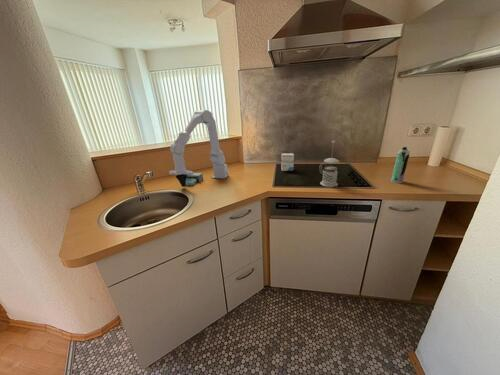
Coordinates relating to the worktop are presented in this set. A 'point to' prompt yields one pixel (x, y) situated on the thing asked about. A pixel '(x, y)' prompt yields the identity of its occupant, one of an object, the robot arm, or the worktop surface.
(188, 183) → the tray shell
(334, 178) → the french press
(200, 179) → the low shelf
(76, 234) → the worktop surface
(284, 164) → the ink box
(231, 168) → the worktop surface
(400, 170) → the spray can
